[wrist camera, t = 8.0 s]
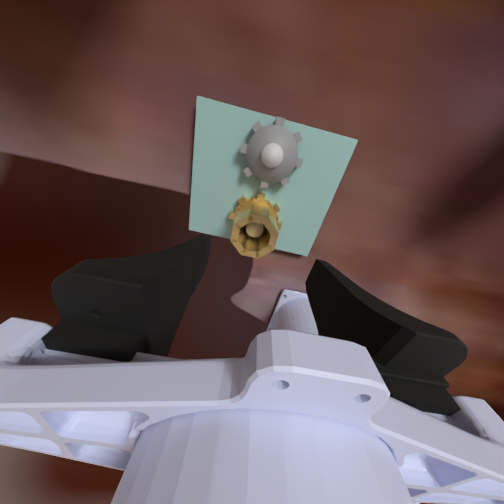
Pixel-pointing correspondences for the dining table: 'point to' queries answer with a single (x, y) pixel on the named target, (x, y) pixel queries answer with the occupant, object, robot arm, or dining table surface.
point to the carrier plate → (263, 171)
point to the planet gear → (259, 213)
